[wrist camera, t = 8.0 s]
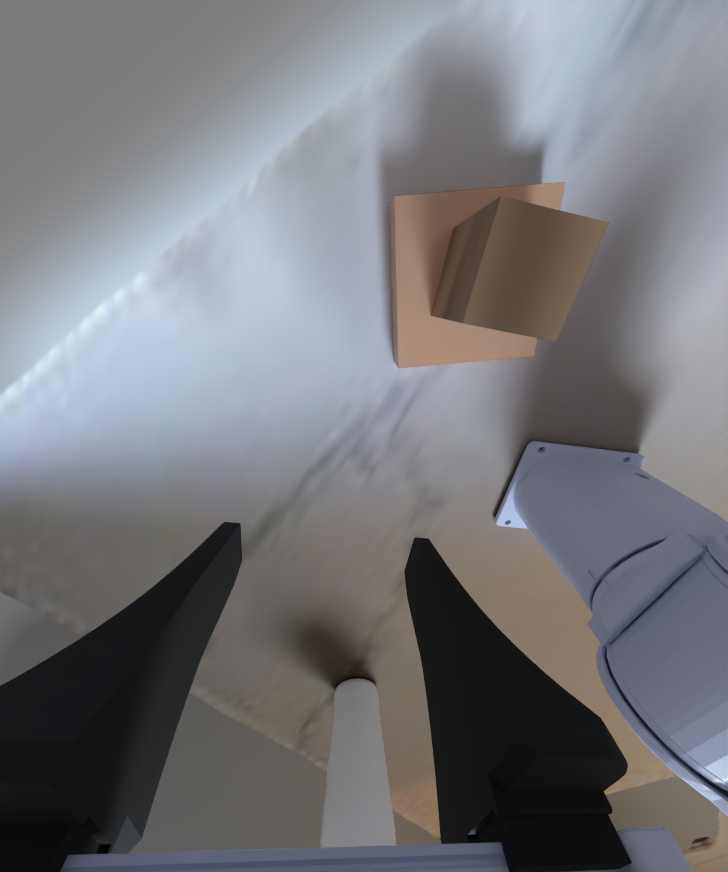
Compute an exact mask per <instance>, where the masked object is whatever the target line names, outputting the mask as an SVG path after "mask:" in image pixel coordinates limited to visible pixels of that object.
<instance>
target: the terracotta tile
mask: <svg viewBox="0 0 728 872" xmlns="http://www.w3.org/2000/svg"><path fill="white" fill-rule="evenodd" d="M564 184H565V182H559V183H546V184H534V185H522V186H510V187H498V188H486V189H473V190H461V191H449V192H437V193H425V194H412V195H400V196H394V198H393V200H392V203H391V205H390V207H389V220H390V253H391V286H392V319H393V352H394V362H395V364H396V365H397V367H398V368H407V367H418V366H430V365H441V364H453V363H464V362H476V361H487V360H499V359H510V358H522V357H533V356H534V354H535V348H536V343H537V338H534V337H529V336H524V335H519V334H514V333H509V332H503V331H498V330H493V329H488V328H483V327H478V326H473V325H468V324H463V323H459V322H455V321H450V320H446V319H442V318H438V317H434V316H431V312H432V308H433V305H434V301H435V297H436V293H437V289H438V285H439V281H440V277H441V273H442V269H443V266H444V262H445V258H446V254H447V250H448V246H449V242H450V238H451V235H452V231H453V228H454V227H455V226H457V225H458V224H460V223H461V222H463V221H464V220H466V219H467V218H469V217H470V216H472V215H473V214H475V213H476V212H478V211H479V210H481V209H482V208H484V207H485V206H487V205H488V204H490V203H491V202H493V201H494V200H496V199H497V198H499V197H500V196H505V197H509V198H512V199H516V200H520V201H524V202H528V203H532V204H536V205H540V206H544V207H548V208H552V209H556V210H560V207H561V201H562V196H563V190H564Z"/></svg>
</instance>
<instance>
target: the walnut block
mask: <svg viewBox="0 0 728 872" xmlns="http://www.w3.org/2000/svg"><path fill="white" fill-rule="evenodd" d="M608 224H609V223H607V222H603V221H599V220H595V219H591V218H587V217H583V216H579V215H576V214H572V213H568V212H564V211H560V210H556V209H552V208H548V207H544V206H540V205H536V204H532V203H528V202H524V201H520V200H516V199H512V198H509V197H505V196H500V197H499V198H497V199H496V200H494V201H493V202H491V203H490V204H488V205H487V206H485V207H484V208H482V209H481V210H479V211H478V212H476V213H475V214H473V215H472V216H470V217H469V218H467V219H466V220H464V221H463V222H461V223H460V224H458V225H457V226H455V227H454V228H453V231H452V235H451V238H450V242H449V246H448V250H447V254H446V258H445V262H444V266H443V269H442V273H441V277H440V281H439V285H438V289H437V293H436V297H435V301H434V305H433V308H432V312H431V316H434V317H438V318H442V319H446V320H450V321H455V322H459V323H463V324H468V325H473V326H478V327H483V328H488V329H493V330H498V331H503V332H509V333H514V334H519V335H524V336H529V337H534V338H539V339H544V340H549V341H554V342H556V340H557V338H558V336H559V333H560V331H561V329H562V327H563V324H564V322H565V320H566V318H567V316H568V313H569V311H570V309H571V307H572V304H573V302H574V300H575V298H576V295H577V293H578V291H579V289H580V286H581V284H582V282H583V280H584V278H585V275H586V273H587V271H588V269H589V266H590V264H591V262H592V260H593V257H594V255H595V253H596V251H597V248H598V246H599V244H600V242H601V239H602V237H603V235H604V233H605V231H606V228H607V226H608Z"/></svg>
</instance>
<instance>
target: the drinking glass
mask: <svg viewBox="0 0 728 872" xmlns="http://www.w3.org/2000/svg"><path fill="white" fill-rule="evenodd" d="M392 845H396V836H395V827H394V819H393V811H392V803H391V796H390V788H389V781H388V774H387V766H386V759H385V751H384V744H383V736H382V728H381V720H380V712H379V700H378V690H377V688H376V686H375V684H374V683H372V682H371V681H369V680H366V679H361V678H354V679H349V680H346V681H344V682H342V683H340V684H339V685H338V686H337V688H336V690H335V695H334V714H333V724H332V734H331V744H330V753H329V763H328V772H327V782H326V792H325V801H324V810H323V820H322V831H321V843H320V848H323V847H357V846H392Z"/></svg>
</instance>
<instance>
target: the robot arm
mask: <svg viewBox="0 0 728 872" xmlns="http://www.w3.org/2000/svg"><path fill="white" fill-rule="evenodd" d="M541 447H542V449H541V450H539V448H541ZM644 460H645V457H644V456H642V455H640V454H638V453H630V452H621V451H613V450H605V449H597V448H588V447H580V446H572V445H564V444H556V443H547V442H539V441H532V442H530V443H529V444H528V445H527V447H526V449H525V451H524V454H523V456H522V458H521V460H520V463H519V465H518V467H517V469H516V472H515V474H514V476H513V478H512V481H511V483H510V485H509V488H508V490H507V492H506V494H505V497H504V499H503V501H502V503H501V506H500V508H499V510H498V513H497V515H496V517H495V523H496V524H497V525H498V526H505V527H516V528H528V529H529V530H530V531H531V533H532V534H533V535H534V537H535V538H536V539H537V541H538V542H539V543H540V545H541V546H542V547H543V548H544V550H545V551H546V552H547V554H548V555H549V556H550V558H551V559H552V560H553V562H554V563H555V564H556V565H557V567H558V568H559V569H560V571H561V572H562V573H563V575H564V576H565V577H566V578H567V580H568V581H569V582H570V584H571V585H572V586H573V588H574V589H575V590H576V592H577V593H578V594H579V595H580V597H581V598H582V599H583V601H584V602H585V603H586V605H587V606H588V607H589V609H590V610H591V611H592V612H593V616H592V618H591V619H590V621H589V622H588V626H589V627H590V629H591V630H592V631H593V633H594V634H595V636H596V637H597V638H598V640H599V641H600V642H601V645H600V646H599V648H598V650H597V653H596V662H597V668H598V671H599V674H600V677H601V680H602V682H603V684H604V686H605V688H606V690H607V692H608V694H609V696H610V698H611V699H612V701H613V703H614V705H615V706H616V707H617V709H618V711H619V712H620V714H621V715H622V717H623V718H624V720H625V721H626V722H627V724H628V725H629V726H630V728H631V729H632V730H633V731H634V733H635V734H636V735H637V736H638V737H639V738H640V740H641V741H642V742H643V743H644V744H645V745H646V746H647V747H648V748H649V749H650V750H651V751H652V752H653V753H654V754H655V755H656V756H657V757H658V758H659V759H660V760H661V761H662V762H663V763H664V764H665V765H666V766H668V767H669V768H670V769H671V770H672V771H673V772H674V773H675V774H677V775H678V776H679V777H680V778H682V779H683V780H684V781H685V782H687V783H688V784H689V785H690V786H692V787H693V788H694V789H696V790H697V791H698V792H700V793H701V794H702V795H703V796H705V797H706V798H707V799H709V800H710V801H711V802H712V803H713V804H715V805H716V806H717V807H718V808H719V809H720V810H721V811H723V812H724V813H725V814H726V815H727V816H728V522H727V521H726V520H724V519H723V518H722V517H720V516H719V515H717V514H715V513H714V512H712V511H710V510H709V509H707V508H705V507H704V506H702V505H700V504H699V503H697V502H695V501H694V500H692V499H690V498H689V497H687V496H685V495H683V494H682V493H680V492H678V491H677V490H675V489H673V488H672V487H670V486H668V485H667V484H665V483H663V482H662V481H660V480H658V479H656V478H655V477H653V476H651V475H650V474H648V473H646V472H645V471H643V470H641V469H640V467H641V465H642V464H643V462H644ZM507 520H508V521H507ZM241 562H242V547H241V526H240V523H230V522H224V523H223V524H221V525H220V526H219V527H218V528H217V529H216V530H215V531H214V532H213V533H212V534H211V535H210V536H209V537H208V538H207V539H206V540H205V541H204V542H203V543H202V544H201V545H200V546H199V547H198V548H197V549H196V550H195V551H194V552H192V553H191V554H190V555H189V556H188V557H187V558H186V559H185V560H184V561H183V562H182V563H180V564H179V565H178V566H177V567H176V568H175V569H174V570H172V571H171V572H170V573H169V574H168V575H166V576H165V577H164V578H163V579H162V580H160V581H159V582H158V583H157V584H156V585H155V586H153V587H152V588H151V589H149V590H148V591H147V592H146V593H144V594H143V595H142V596H141V597H139V598H138V599H137V600H135V601H134V602H133V603H131V604H130V605H129V606H127V607H126V608H124V609H123V610H122V611H120V612H119V613H117V614H116V615H115V616H113V617H112V618H110V619H109V620H107V621H106V622H105V623H103V624H102V625H100V626H99V627H97V628H96V629H94V630H93V631H91V632H90V633H88V634H87V635H85V636H84V637H82V638H81V639H79V640H78V641H76V642H74V643H73V644H71V645H69V646H68V647H66V648H64V649H63V650H61V651H60V652H58V653H56V654H55V655H53V656H51V657H50V658H48V659H47V660H45V661H43V662H42V663H40V664H38V665H37V666H35V667H33V668H32V669H30V670H28V671H26V672H25V673H23V674H21V675H19V676H17V677H16V678H14V679H12V680H10V681H8V682H7V683H5V684H3V685H1V686H0V872H693V870H692V868H691V867H690V865H689V863H688V862H687V860H686V858H685V857H684V855H683V853H682V852H681V850H680V848H679V847H678V845H677V843H676V841H675V840H674V838H673V836H672V835H671V833H670V831H669V830H667V829H666V828H664V827H651V828H650V827H649V828H626V829H621V830H618V831H616V830H615V828H614V826H613V824H612V822H611V820H610V818H609V816H608V814H611V813H612V807H611V805H610V803H609V801H608V800H607V797H606V796H605V794H604V792H603V791H604V790H606V789H607V788H608V787H610V786H611V785H612V784H614V783H615V782H616V781H618V780H619V779H620V778H621V777H623V776H624V775H625V773H626V771H627V767H628V764H627V761H626V759H625V757H624V756H623V754H622V752H621V751H620V749H619V747H618V746H617V744H616V742H615V740H614V739H613V737H612V735H611V734H610V732H609V730H608V729H607V727H606V726H605V724H604V723H603V721H602V719H601V718H600V717H599V716H598V715H596V714H595V713H594V712H593V711H591V710H590V709H589V708H587V707H586V706H585V705H584V704H582V703H581V702H580V701H579V700H577V699H576V698H575V697H573V696H572V695H571V694H570V693H568V692H567V691H566V690H565V689H563V688H562V687H561V686H560V685H559V684H557V683H556V682H555V681H554V680H553V679H552V678H550V677H549V676H548V675H547V674H546V673H545V672H543V671H542V670H541V669H540V668H539V667H538V666H537V665H536V664H534V663H533V662H532V661H531V660H530V659H529V658H528V657H527V656H526V655H525V654H524V653H523V652H522V651H521V650H519V649H518V648H517V647H516V646H515V645H514V644H513V643H512V642H511V641H510V640H509V639H508V638H507V637H506V636H505V635H504V634H503V633H502V632H501V631H500V630H499V629H498V628H497V626H496V625H495V624H494V623H493V622H492V621H491V620H490V619H489V618H488V617H487V616H486V615H485V613H484V612H483V611H482V610H481V609H480V608H479V606H478V605H477V604H476V603H475V602H474V600H473V599H472V598H471V597H470V595H469V594H468V593H467V592H466V590H465V589H464V588H463V586H462V585H461V584H460V582H459V581H458V580H457V578H456V577H455V576H454V574H453V573H452V572H451V570H450V569H449V568H448V566H447V565H446V563H445V562H444V560H443V559H442V558H441V556H440V555H439V553H438V552H437V550H436V549H435V547H434V546H433V544H432V543H431V542H430V540H429V539H427V538H414V541H413V544H412V548H411V551H410V554H409V558H408V561H407V564H406V568H405V581H406V590H407V597H408V602H409V607H410V611H411V616H412V620H413V625H414V629H415V634H416V638H417V643H418V647H419V652H420V656H421V662H422V667H423V673H424V681H425V688H426V695H427V703H428V711H429V719H430V728H431V736H432V746H433V756H434V765H435V775H436V787H437V798H438V809H439V822H440V835H441V843H442V844H429V845H428V844H426V845H392V846H357V847H323V848H291V849H290V848H289V849H255V850H221V851H185V852H152V853H129V852H130V851H131V850H132V849H133V848H134V847H135V846H136V845H137V844H138V842H139V841H140V840H141V839H142V835H143V832H144V829H145V826H146V822H147V819H148V816H149V813H150V809H151V806H152V803H153V800H154V797H155V793H156V790H157V787H158V784H159V780H160V777H161V774H162V771H163V768H164V765H165V761H166V759H167V756H168V753H169V749H170V746H171V743H172V740H173V737H174V734H175V731H176V728H177V725H178V722H179V720H180V717H181V714H182V711H183V708H184V705H185V702H186V699H187V696H188V693H189V691H190V688H191V685H192V682H193V679H194V677H195V674H196V671H197V668H198V666H199V663H200V660H201V658H202V655H203V653H204V650H205V648H206V646H207V644H208V641H209V639H210V637H211V635H212V633H213V630H214V628H215V626H216V624H217V622H218V619H219V617H220V615H221V613H222V611H223V608H224V606H225V604H226V602H227V599H228V597H229V595H230V593H231V590H232V588H233V586H234V583H235V580H236V577H237V574H238V571H239V568H240V565H241Z"/></svg>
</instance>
